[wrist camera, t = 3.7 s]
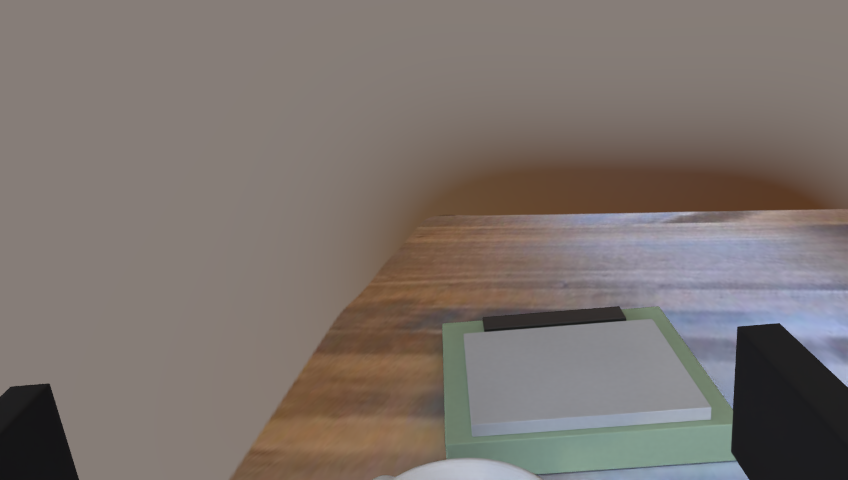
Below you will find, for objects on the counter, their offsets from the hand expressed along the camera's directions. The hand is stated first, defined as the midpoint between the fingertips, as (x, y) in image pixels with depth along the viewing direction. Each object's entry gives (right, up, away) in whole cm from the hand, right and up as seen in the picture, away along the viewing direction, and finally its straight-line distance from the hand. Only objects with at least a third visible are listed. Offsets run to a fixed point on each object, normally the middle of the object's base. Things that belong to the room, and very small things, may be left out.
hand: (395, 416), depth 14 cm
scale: (+10, -7, +32) cm, 35 cm away
